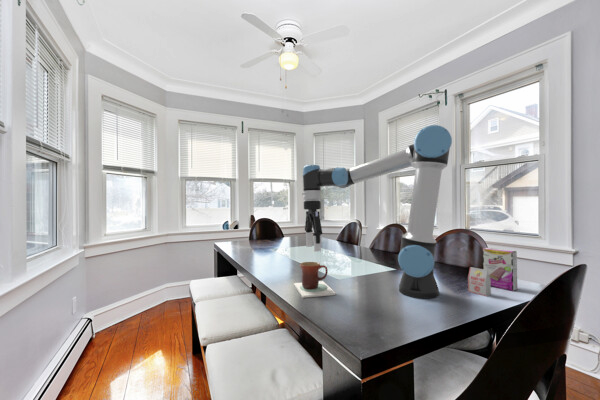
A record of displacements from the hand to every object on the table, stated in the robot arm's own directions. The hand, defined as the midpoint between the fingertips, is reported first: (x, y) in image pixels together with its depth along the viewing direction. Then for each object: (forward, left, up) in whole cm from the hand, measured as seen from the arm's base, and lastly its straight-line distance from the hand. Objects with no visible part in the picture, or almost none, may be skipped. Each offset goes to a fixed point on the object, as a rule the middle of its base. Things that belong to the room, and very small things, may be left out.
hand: (313, 248), depth 117 cm
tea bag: (-22, -64, -18) cm, 70 cm away
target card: (0, 0, -18) cm, 18 cm away
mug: (0, 0, -17) cm, 17 cm away
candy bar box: (-18, -79, -18) cm, 83 cm away
